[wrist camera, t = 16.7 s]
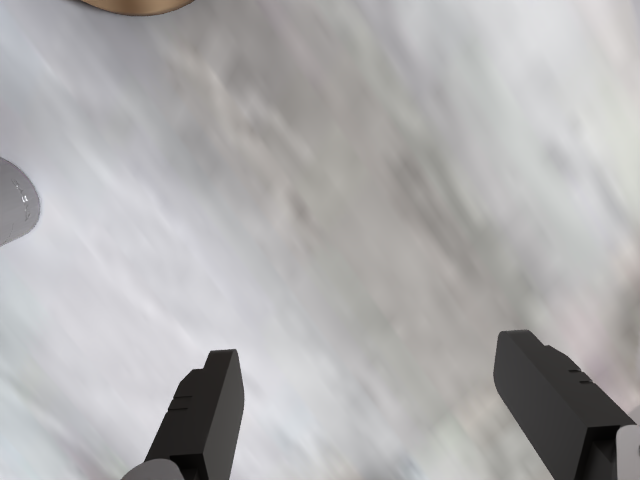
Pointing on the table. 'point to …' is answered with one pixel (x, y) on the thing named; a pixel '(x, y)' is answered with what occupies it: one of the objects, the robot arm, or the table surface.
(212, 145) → the table surface
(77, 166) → the table surface
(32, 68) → the table surface
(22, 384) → the table surface
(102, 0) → the disc
